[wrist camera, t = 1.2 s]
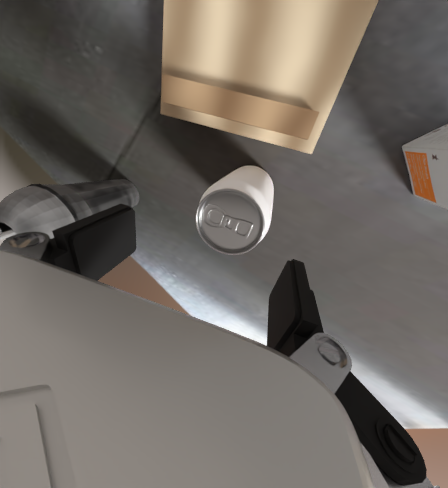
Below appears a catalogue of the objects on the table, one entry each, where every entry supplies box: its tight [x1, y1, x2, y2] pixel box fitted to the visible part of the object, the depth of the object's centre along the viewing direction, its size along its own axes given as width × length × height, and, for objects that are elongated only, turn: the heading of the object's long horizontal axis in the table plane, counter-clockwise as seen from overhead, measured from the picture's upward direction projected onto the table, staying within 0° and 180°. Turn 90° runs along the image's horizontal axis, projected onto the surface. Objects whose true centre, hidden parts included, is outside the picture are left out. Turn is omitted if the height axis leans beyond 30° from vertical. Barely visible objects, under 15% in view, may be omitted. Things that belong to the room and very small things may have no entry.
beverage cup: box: [0, 179, 139, 240], centre depth 21 cm, size 7×7×20 cm
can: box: [196, 166, 274, 255], centre depth 19 cm, size 6×6×12 cm
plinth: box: [161, 0, 379, 154], centre depth 16 cm, size 16×14×6 cm
